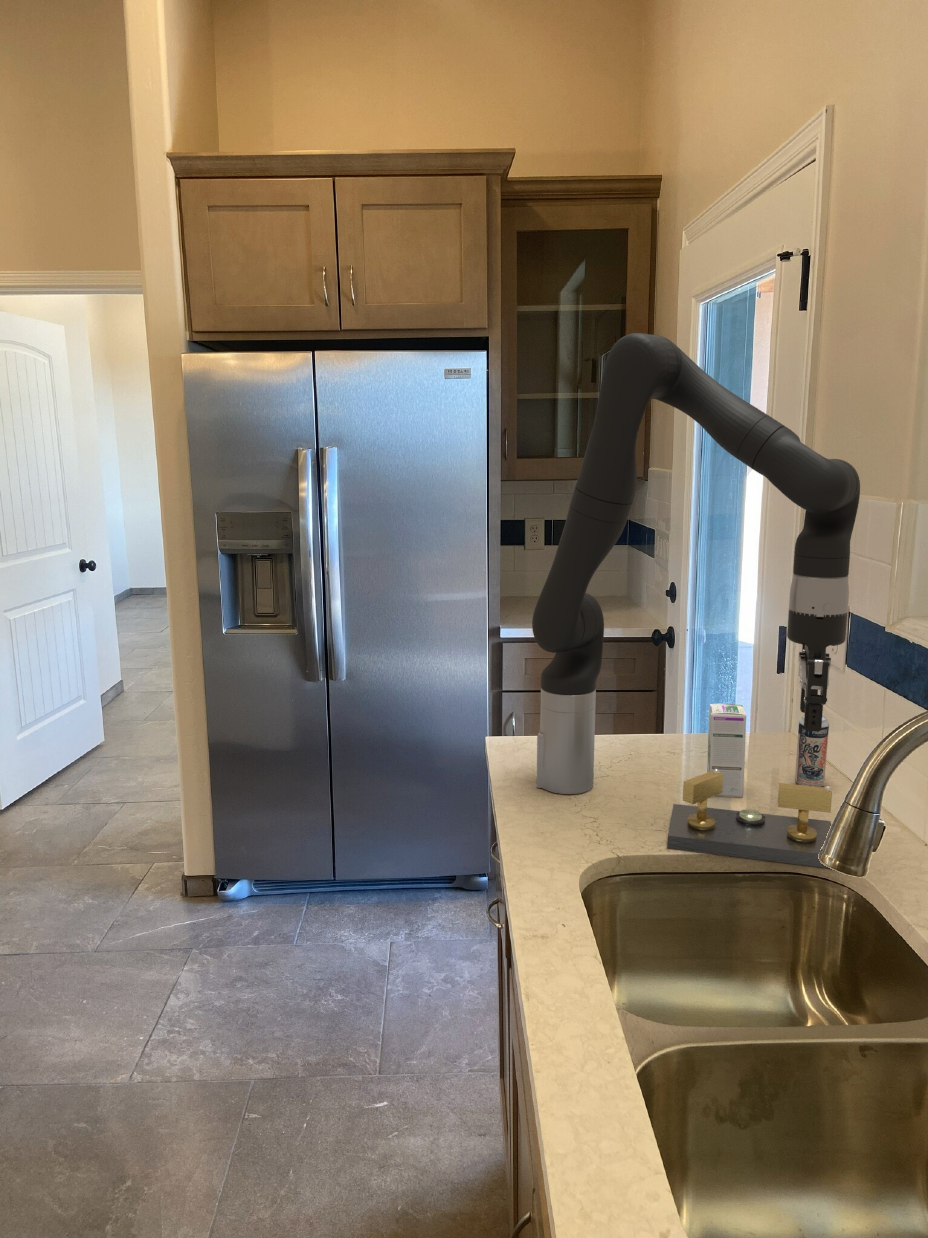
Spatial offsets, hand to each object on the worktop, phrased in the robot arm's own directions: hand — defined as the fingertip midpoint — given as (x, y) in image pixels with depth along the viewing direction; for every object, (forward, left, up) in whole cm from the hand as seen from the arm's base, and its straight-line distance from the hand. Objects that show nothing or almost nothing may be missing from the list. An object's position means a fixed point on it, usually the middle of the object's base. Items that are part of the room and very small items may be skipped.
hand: (810, 721), depth 125 cm
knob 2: (0, 0, -17) cm, 17 cm away
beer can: (+3, +27, -20) cm, 34 cm away
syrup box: (-11, +20, -20) cm, 30 cm away
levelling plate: (-7, +1, -19) cm, 21 cm away
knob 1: (-14, 0, -17) cm, 22 cm away
